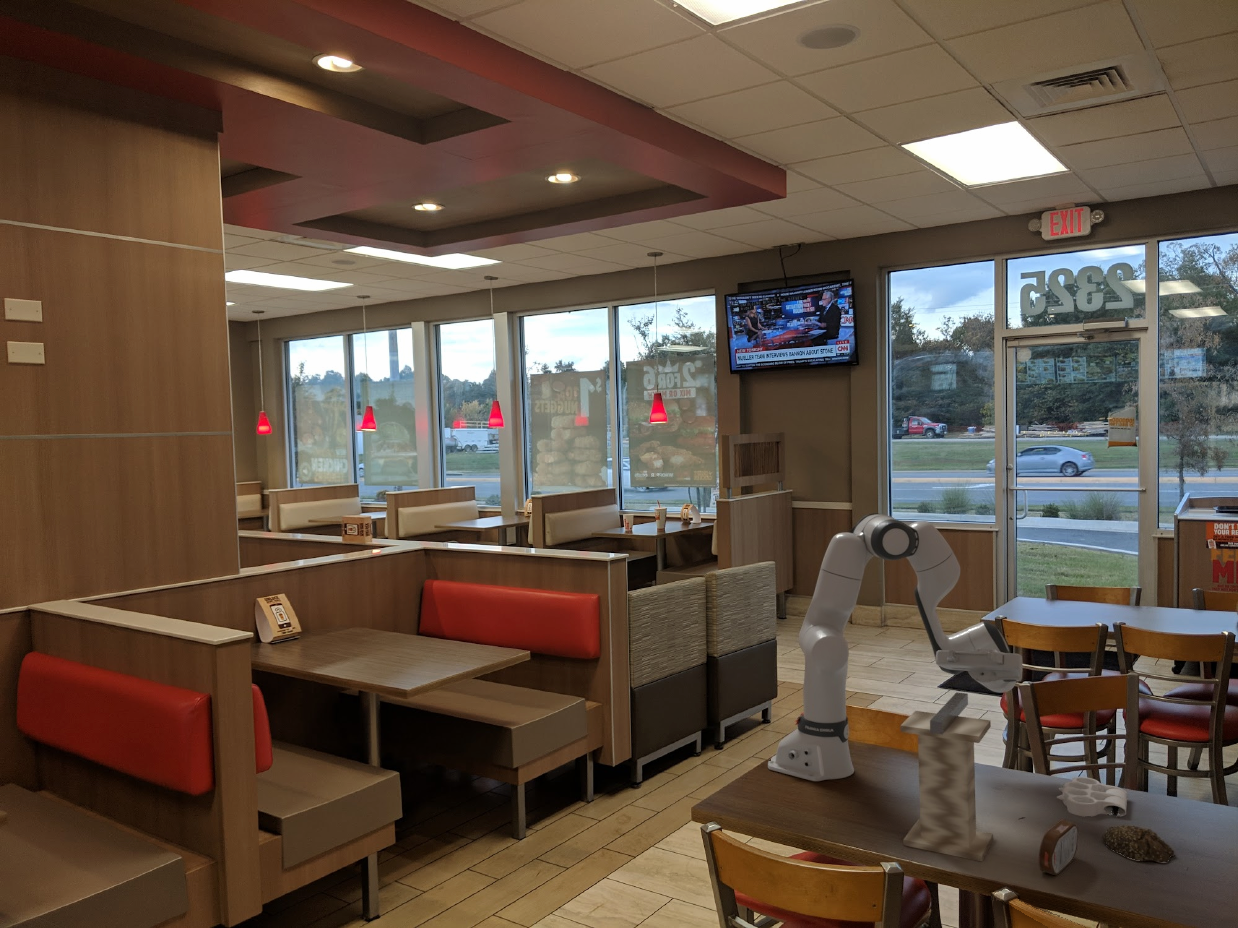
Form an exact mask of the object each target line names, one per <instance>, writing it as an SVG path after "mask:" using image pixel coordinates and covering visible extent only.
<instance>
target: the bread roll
mask: <svg viewBox="0 0 1238 928" xmlns="http://www.w3.org/2000/svg"><path fill="white" fill-rule="evenodd" d="M1101 842H1102V843H1104V846H1106V845H1107V846H1108V847H1109V848H1110V850H1111V849H1112V850H1114V851H1115V852H1118V853H1121V854H1122V855H1124V856H1125V857H1129V858H1132V859H1135V860H1140V861H1139V862H1146V861H1151V862H1156V863H1157V862H1168V860H1171V858H1173V857H1174V856H1175V851H1174V849H1173V848H1172V847H1171V846H1170V845H1169V844H1168V843H1166V842H1165V841H1164V840H1162V839H1161V837H1160V836H1158V833H1157V832H1155V831H1153V830H1152V829H1151V828H1143V827H1140V826H1134V825H1128V824H1123V825H1116V826H1113V827H1112V826H1110V827H1109V829H1106V830H1105V831H1104V832H1103V834H1102V835H1101ZM1108 847H1107V848H1108ZM1109 848H1108V849H1109ZM1112 850H1111V851H1112ZM1115 852H1114V853H1115ZM1122 855H1121V856H1122ZM1170 856H1171V857H1170ZM1172 856H1173V857H1172ZM1125 857H1124V858H1125ZM1169 857H1170V858H1169ZM1168 863H1169V862H1168Z"/></svg>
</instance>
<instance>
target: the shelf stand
mask: <svg viewBox="0 0 1238 928" xmlns="http://www.w3.org/2000/svg"><path fill="white" fill-rule="evenodd" d="M937 713H938V712H936V713H935V712H928V711H921V710H915V711H913V712H912V713H911V715H910V716H908V717H907V718H906V719H905V720H904V721H903V723H901V724H900V726H899V727H900V733H906V734H913V735H917V743H918V744H917V746H918V747H917V749H918V782H919V783H918V784H919V785H918V786H919V790H918V791H919V793H918V794H919V818H920V819H919V818H918V819H917V821H916V822H915V823H914V824H913V826H912V827H911V829H909V831H908V833H907V834H906V835H905V837H903V841H902V842H903V846H906V847H910V848H914V849H915V848H916V849H920V850H925V851H930V852H934V853H939V854H944V855H948V856H954V857H958V858H963V859H968V860H973V861H978V862H982V861H984V858H985V856H986V855H987V853H988V850H989V848H990V846H991V845H992V843H993V841H994V833H992V832H991V833H990V832H986V831H982V830H981V831H980V830H977V816H976V815H977V813H976V810H977V809H976V807H977V806H976V773H975V771H976V770H975V767H976V766H975V765H976V764H975V743H976V744H980V743H981V741H982V740H983V739H984V737H985V736H986V734H987V732H988V731H989V730H990V729H991V722H992V721H991V720H990V719H982V718H974V717H966V716H960V715H959V716H958V717H957V718H956V719H955V720H954V722H953V723H952V724H951V725H950V726H949V727H948V729H947V730H946V731H945V732H944V733H943V734H936V733H930V720H931V719H932V718H933V717H934V716H935V715H936V714H937Z"/></svg>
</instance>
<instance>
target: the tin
mask: <svg viewBox="0 0 1238 928" xmlns="http://www.w3.org/2000/svg"><path fill="white" fill-rule="evenodd" d="M1078 836H1079V827H1078V825H1077V824H1076V823H1074V822H1072V821H1069V820H1066V819H1063V818H1062V819H1060V820H1059V821H1058V822H1056V823H1055V824H1054V825H1052V827H1050V828H1049V829H1047V830H1046V831H1045V833H1044V835H1043V837H1042V839H1041V843H1040V847H1039V851H1038V852H1039V853H1038V867H1039V869H1040V871H1041V872H1042V873H1047V874H1049V875H1052V876H1058V875H1059V874H1060V873H1061V872H1063V871H1064V869H1066V868H1067V867H1068V866H1069V865H1070V864H1071V863H1072V862H1073V861H1072V860H1074V859H1075V857H1076V854H1077V851H1078ZM1070 862H1071V863H1070ZM1069 863H1070V864H1069ZM1067 865H1068V866H1067ZM1066 866H1067V867H1066Z"/></svg>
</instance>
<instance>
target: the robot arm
mask: <svg viewBox="0 0 1238 928" xmlns="http://www.w3.org/2000/svg"><path fill="white" fill-rule="evenodd" d="M874 557H877V558H879V559H883V560H884V561H898V560H901V559H905V558H906V559H907V560H908V562H909V564H910V565H911V567H912V569H913V571H914V572H915V576H916V577H917V585H916V586H915V588H914V589H913V590H914V598H915V603H916V605H917V609H918V612H919V615H920V618H921V620H922V622H923V626H924V629H925V631H926V634H927V636H928V639H929V642H930V645H931V648H932V652H933V653H932V654H933V657H934V660H935V664H936V665H937V666H938V667H939V668H940V670H941V671H942V672H944V673H946V674H949V675H954V676H956V675H959V674H960V673H963V672H965V671H966V672H968V674H969V676H971V678H972V679H973V680H975V681H976V682H978V683H979V684H980V685H982V686H983V687H985V688H986V689H988V690H990V691H991V692H994V693H1007V692H1009V691H1011V690H1013V688H1015V686H1016V684H1017V682H1021V681H1022V679H1023V666H1024V665H1023V656H1022V655H1021V654H1020V653H1011V649H1010V645H1009V642H1008V640H1007V639H1006V637H1005V635H1004V634H1003V632H1002V631H1001V630H1000V629H999V627H997V626H996V625H995V624H993V623H990V622H989V621H981V622H978V623H976V624H974V625H971V626H969V627H966V628H965V629H961V630H960V631H957V632H955V633H952V634H945V632H944V630H943V627H942V624H941V621H940V619H939V617H938V613H937V607H938V605H939V603H940V602H941V601H942V600H943V599H944V598H945V596H947V595H948V594H949V593H950V592H951V591H952V590H953V589H954V588H955V586H956V585H957V583H958V581H959V579H960V576H961V566H960V563H959V561H958V559H957V557H956V555H955V553H954V551H953V549H952V548H951V546H950V544H949V543H948V542H947V540H946V539H945V538H944V536H943V535H942V533H941V532H940V531H939V530H938V529H937V528H936V527H935V526H934V525H933V523H931V522H929V521H926V520H917V521H914V522H912V523H910V524H907V523H904V522H903V521H901V520H899V519H895V517H892V516H890V515H887V514H881V513H877V512H875V513H869V514H866V515H864V516H863V517H861V518H860V519H859V520H858V521H857V523H856V524H855V525H854V526H853V527H852V528H851V529H850V530H849V532H839V533H837V534H835V535H833V537H832V538H831V540H830V542H829V544H828V547H827V549H826V551H825V553H824V555H823V560H822V562H821V566H820V568H819V569H820V570H819V572H818V573H819V574H818V577H817V581H816V583H815V589H814V592H813V595H812V599H811V601H810V604H809V607H808V609H807V611H806V614H805V617H804V620H803V622H802V625H801V628H800V630H799V632H798V633H799V634H798V644H799V646H800V649H801V651H802V653H803V655H804V677H803V684H802V696H803V697H802V699H803V700H802V703H803V705H802V706H803V711H802V712H801V713H800V714H799V715H800V716H798V717H797V718H796V720H795V721H794V722H795V724H794V725H795V726H796V725H797V728H796V729H794V730H793V731H791V732H790V733H789V734H787V735H786V736H785V737H784V738H782V739H781V740H780V741H779V743H778V745H777V749H776V753H775V755H773V756H772V757H771V758H770V759H771V761H769V760H768V762H767V768H768V770H770V771H774V772H777V773H778V772H779V773H781V774H784V775H785V774H786V775H790V776H793V777H796V778H801V779H805V780H808V781H811V782H821V781H825V780H837V779H838V780H839V779H843V778H847V777H849V776H850V777H851V775H853V774H854V772H855V768H854V765H853V763H852V762H853V761H852V759H851V753H850V748H849V741H848V740H849V736H850V728H849V727H850V725H849V718H848V716H847V702H846V701H847V700H846V699H847V698H846V697H847V694H846V692H847V691H846V690H847V689H846V688H847V678H848V677H847V676H848V667H849V665H848V664H849V655H850V653H849V652H850V651H849V650H850V649H849V645H848V642H847V639H846V638H845V637H844V632H845V628H846V627H847V626H846V625H847V624H848V621H849V619H850V617H851V615H852V613H853V611H854V610H855V609H856V605H857V600H858V596H859V594H860V589H861V585H862V581H863V577H864V573H865V569H866V567H867V565H868V563H869V561H870V560H871V559H872V558H874Z"/></svg>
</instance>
